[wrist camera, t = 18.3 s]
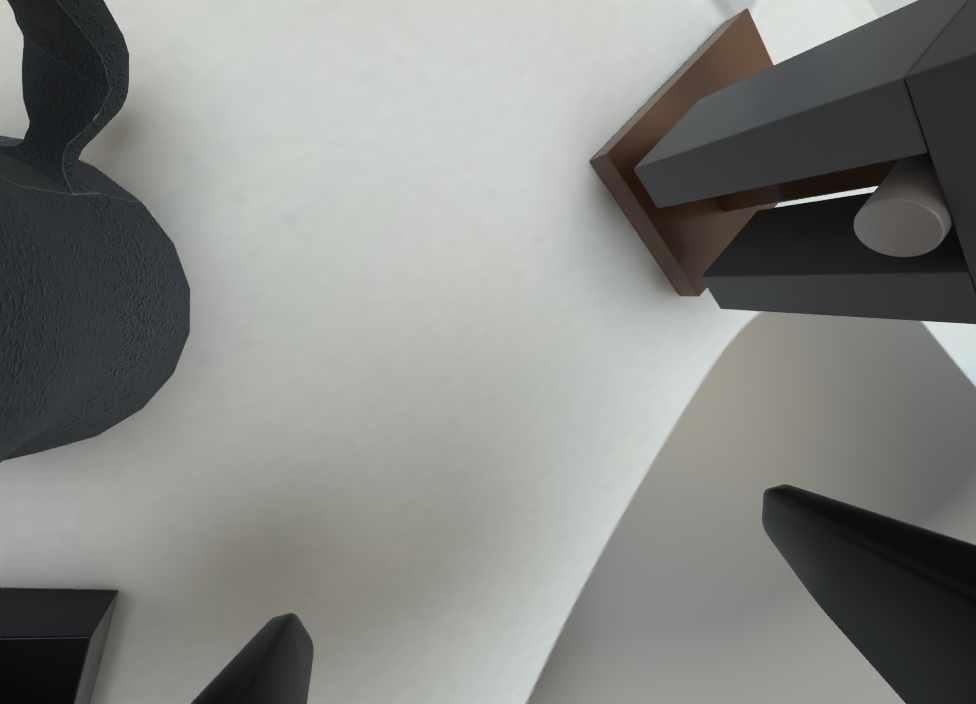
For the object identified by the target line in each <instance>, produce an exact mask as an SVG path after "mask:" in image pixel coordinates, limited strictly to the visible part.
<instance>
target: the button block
mask: <svg viewBox="0 0 976 704" xmlns="http://www.w3.org/2000/svg"><path fill="white" fill-rule="evenodd" d="M117 593H118V591H110V590H50V589H0V704H90V701H91V697H92V693H93V689H94V685H95V681H96V677H97V673H98V669H99V665H100V661H101V657H102V653H103V649H104V645H105V641H106V637H107V633H108V629H109V625H110V621H111V617H112V613H113V609H114V605H115V601H116V597H117Z"/></svg>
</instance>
